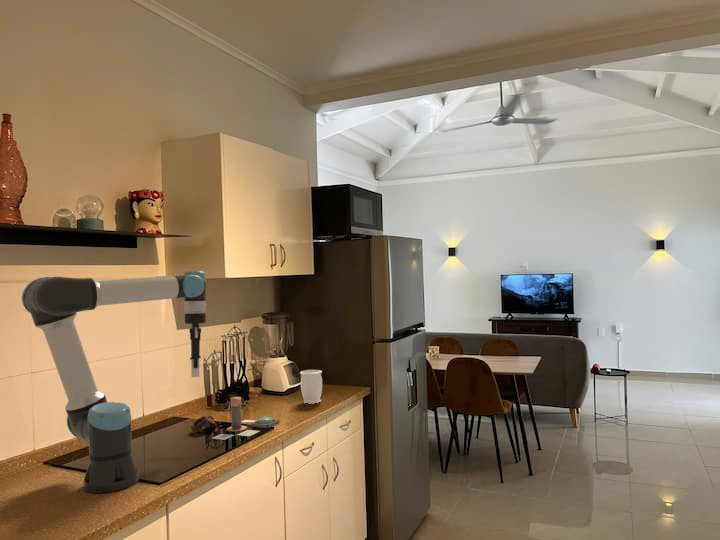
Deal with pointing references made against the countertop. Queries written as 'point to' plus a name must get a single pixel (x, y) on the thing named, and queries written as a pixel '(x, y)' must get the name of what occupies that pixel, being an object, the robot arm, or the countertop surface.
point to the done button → (265, 420)
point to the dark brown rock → (204, 424)
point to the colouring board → (247, 432)
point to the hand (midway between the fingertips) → (195, 376)
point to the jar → (311, 386)
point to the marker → (236, 413)
